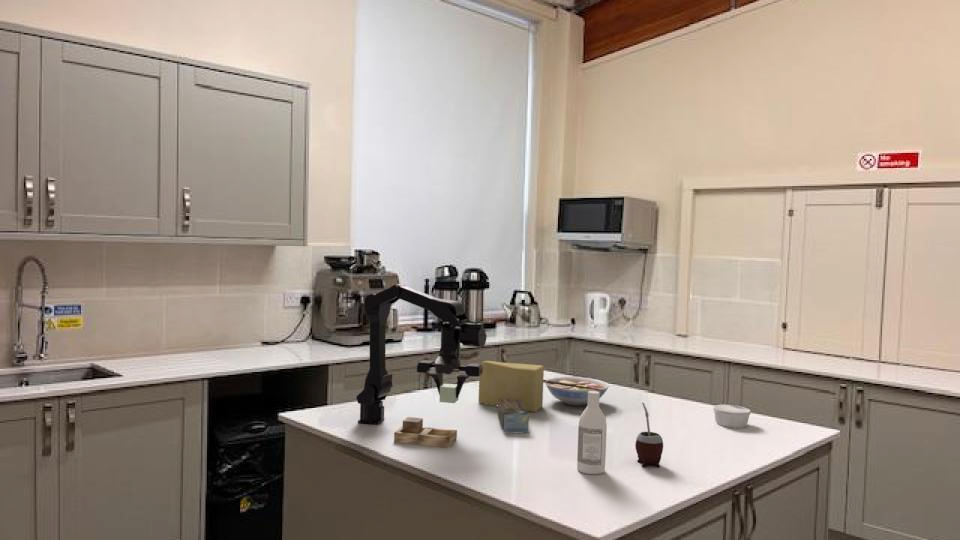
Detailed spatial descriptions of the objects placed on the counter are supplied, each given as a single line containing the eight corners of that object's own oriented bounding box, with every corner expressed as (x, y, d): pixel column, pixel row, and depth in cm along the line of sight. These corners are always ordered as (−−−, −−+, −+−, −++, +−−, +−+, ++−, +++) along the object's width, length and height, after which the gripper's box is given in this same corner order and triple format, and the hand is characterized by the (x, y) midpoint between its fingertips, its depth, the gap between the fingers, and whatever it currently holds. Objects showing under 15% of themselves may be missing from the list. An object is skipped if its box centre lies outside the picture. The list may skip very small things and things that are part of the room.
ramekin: (755, 425, 224) (756, 408, 224) (741, 431, 216) (742, 414, 216) (721, 418, 232) (722, 402, 232) (707, 424, 224) (707, 407, 223)
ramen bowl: (621, 403, 249) (622, 380, 249) (596, 415, 230) (596, 391, 229) (558, 392, 262) (559, 371, 262) (529, 404, 243) (530, 381, 243)
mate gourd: (654, 470, 176) (657, 412, 175) (626, 463, 181) (629, 406, 180) (667, 464, 181) (670, 407, 181) (640, 457, 187) (642, 402, 186)
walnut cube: (402, 436, 195) (402, 420, 195) (407, 432, 199) (407, 416, 199) (417, 438, 194) (417, 422, 194) (422, 433, 198) (422, 418, 198)
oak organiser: (394, 442, 194) (394, 432, 193) (403, 434, 201) (403, 425, 201) (449, 447, 190) (449, 437, 190) (456, 439, 198) (456, 430, 198)
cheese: (473, 405, 239) (474, 362, 238) (483, 399, 248) (485, 358, 247) (535, 413, 231) (536, 368, 230) (543, 407, 240) (544, 364, 239)
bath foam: (586, 464, 179) (589, 387, 179) (609, 470, 175) (612, 392, 174) (571, 470, 174) (574, 391, 173) (595, 477, 170) (598, 396, 169)
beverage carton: (502, 433, 206) (502, 411, 206) (497, 417, 225) (497, 396, 225) (528, 433, 207) (529, 412, 206) (521, 417, 226) (521, 397, 226)
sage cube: (439, 401, 201) (439, 386, 201) (443, 398, 206) (444, 383, 206) (454, 403, 200) (454, 387, 200) (458, 399, 205) (458, 384, 205)
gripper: (411, 346, 197) (410, 400, 197) (475, 350, 192) (473, 406, 193) (423, 341, 207) (421, 392, 208) (483, 344, 203) (482, 397, 204)
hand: (449, 397), depth 203 cm, fingers closed on sage cube, 4 cm apart
